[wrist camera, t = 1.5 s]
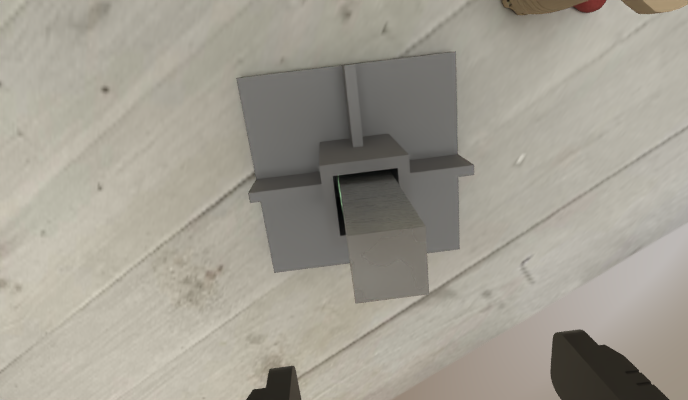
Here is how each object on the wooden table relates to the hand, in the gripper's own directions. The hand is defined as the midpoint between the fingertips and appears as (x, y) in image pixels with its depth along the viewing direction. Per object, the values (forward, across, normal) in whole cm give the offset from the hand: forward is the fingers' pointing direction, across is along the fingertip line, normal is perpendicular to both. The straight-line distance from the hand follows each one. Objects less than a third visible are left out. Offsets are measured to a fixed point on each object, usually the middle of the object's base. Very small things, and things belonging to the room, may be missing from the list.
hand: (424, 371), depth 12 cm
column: (+24, 0, 0) cm, 24 cm away
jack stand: (+26, 0, 0) cm, 26 cm away
